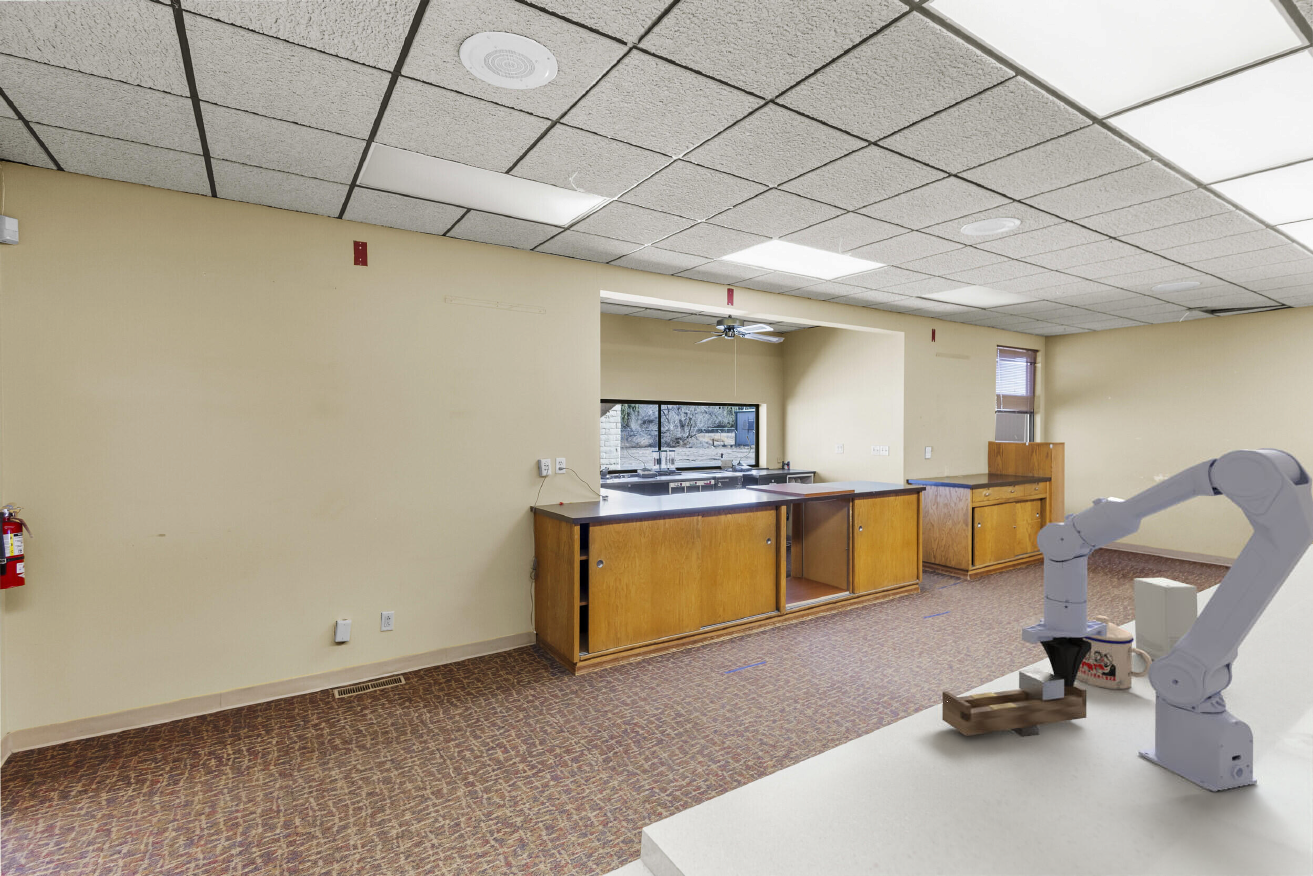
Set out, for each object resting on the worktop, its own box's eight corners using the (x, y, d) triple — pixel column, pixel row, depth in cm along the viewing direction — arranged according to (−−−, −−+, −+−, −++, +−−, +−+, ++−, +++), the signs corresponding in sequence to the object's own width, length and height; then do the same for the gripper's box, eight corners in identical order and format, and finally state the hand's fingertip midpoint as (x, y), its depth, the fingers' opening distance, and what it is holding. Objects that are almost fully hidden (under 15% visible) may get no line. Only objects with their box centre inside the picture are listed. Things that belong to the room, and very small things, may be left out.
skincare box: (1200, 668, 117) (1200, 587, 117) (1165, 667, 117) (1165, 587, 117) (1164, 652, 125) (1165, 576, 125) (1131, 652, 125) (1132, 576, 125)
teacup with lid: (1062, 677, 113) (1062, 614, 113) (1085, 666, 118) (1085, 606, 118) (1140, 701, 103) (1140, 632, 103) (1162, 689, 108) (1162, 623, 107)
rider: (1039, 694, 98) (1039, 668, 98) (1063, 706, 94) (1064, 679, 94) (1019, 697, 97) (1019, 670, 97) (1042, 709, 93) (1042, 682, 93)
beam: (1055, 709, 100) (1055, 675, 100) (1089, 727, 94) (1089, 690, 94) (940, 726, 94) (940, 690, 94) (968, 745, 89) (969, 707, 88)
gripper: (1078, 588, 102) (1078, 669, 102) (1006, 594, 98) (1006, 678, 99) (1120, 600, 95) (1119, 687, 95) (1044, 607, 92) (1043, 697, 92)
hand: (1064, 684), depth 96 cm, fingers closed
